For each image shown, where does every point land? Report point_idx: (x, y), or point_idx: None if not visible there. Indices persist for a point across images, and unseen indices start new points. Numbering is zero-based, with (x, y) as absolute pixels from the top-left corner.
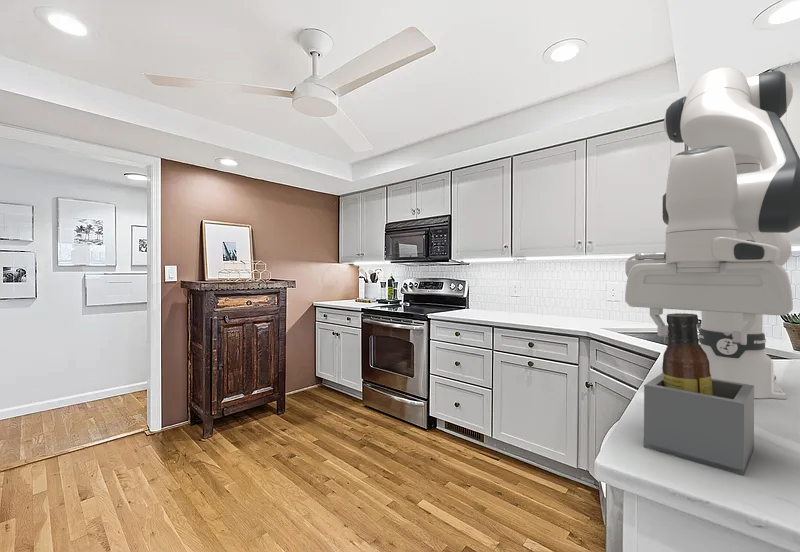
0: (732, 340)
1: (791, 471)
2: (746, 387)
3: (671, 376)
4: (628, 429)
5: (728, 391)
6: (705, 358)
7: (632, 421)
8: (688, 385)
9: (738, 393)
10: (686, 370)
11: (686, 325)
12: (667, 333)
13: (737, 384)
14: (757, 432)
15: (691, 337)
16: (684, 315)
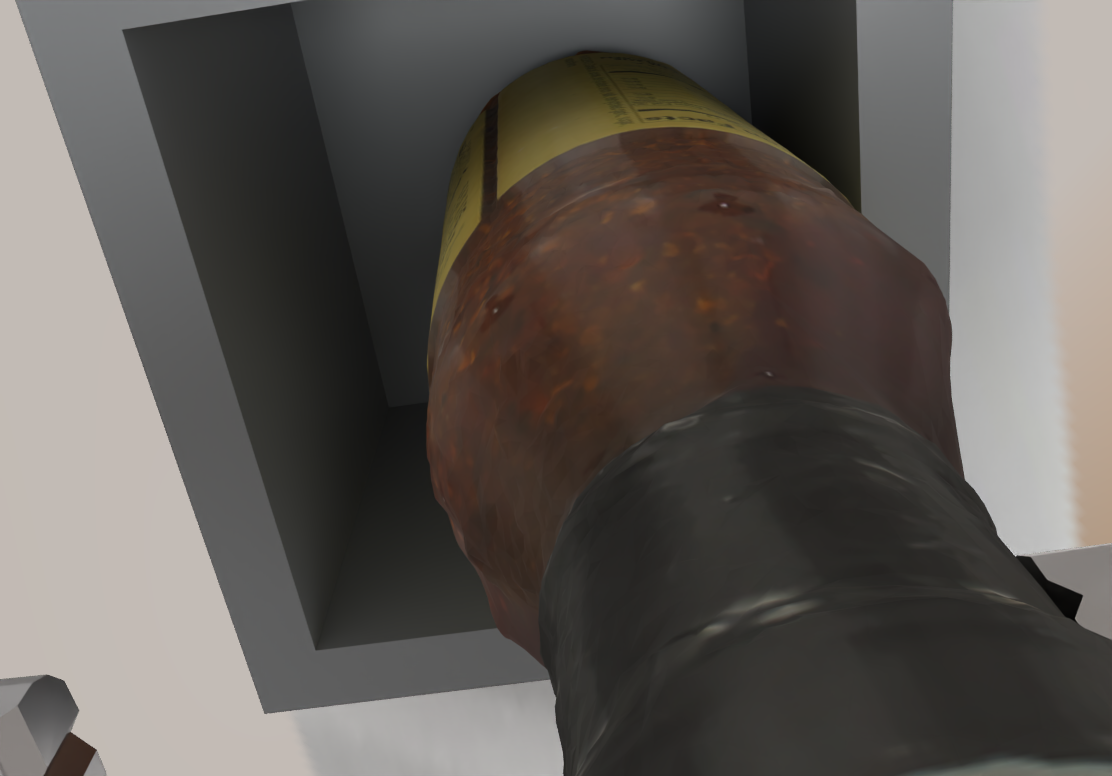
0: (22, 700)
1: None
2: (266, 599)
3: (753, 142)
4: (981, 115)
5: (423, 587)
6: (435, 432)
7: (1006, 300)
8: (568, 133)
9: (207, 326)
10: (595, 176)
11: (699, 636)
12: (1053, 570)
13: (351, 644)
14: (438, 709)
15: (602, 544)
16: None
